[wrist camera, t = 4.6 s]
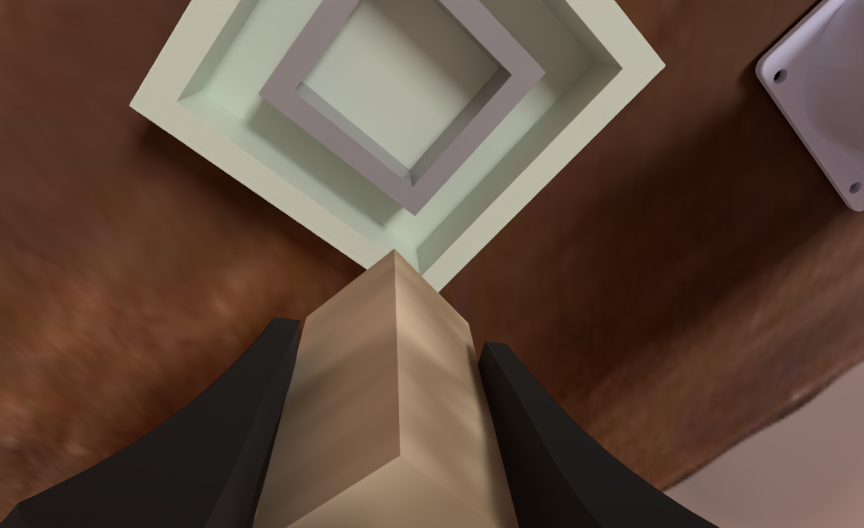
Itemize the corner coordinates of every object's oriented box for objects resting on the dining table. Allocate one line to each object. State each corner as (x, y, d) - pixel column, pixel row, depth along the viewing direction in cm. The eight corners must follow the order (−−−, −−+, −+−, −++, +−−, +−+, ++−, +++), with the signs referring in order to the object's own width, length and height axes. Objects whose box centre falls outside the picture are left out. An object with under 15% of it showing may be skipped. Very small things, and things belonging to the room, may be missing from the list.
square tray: (625, 56, 18) (666, 65, 15) (417, 271, 22) (422, 307, 19) (375, -246, 14) (373, -305, 11) (167, 89, 17) (129, 105, 15)
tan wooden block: (468, 323, 15) (524, 547, 9) (384, 381, 16) (382, 621, 10) (394, 248, 13) (400, 454, 7) (306, 316, 14) (246, 552, 8)
